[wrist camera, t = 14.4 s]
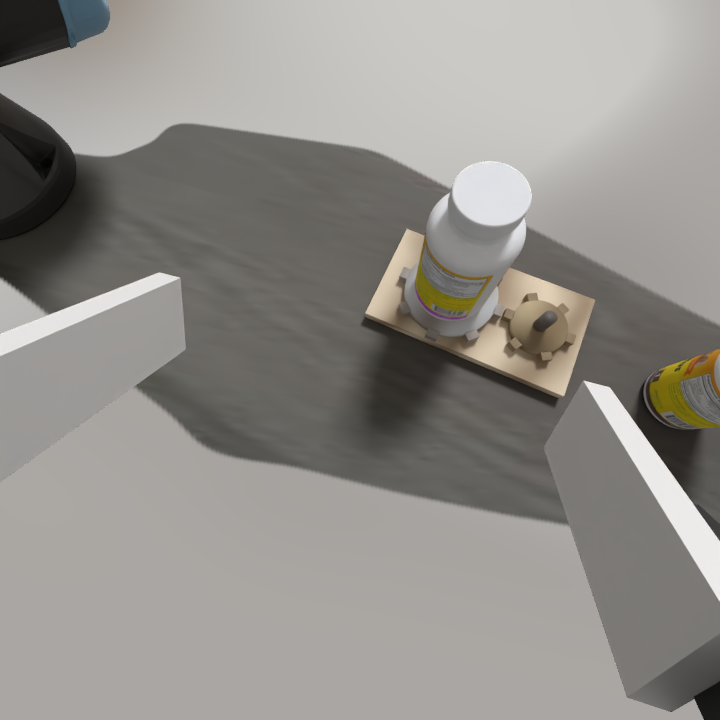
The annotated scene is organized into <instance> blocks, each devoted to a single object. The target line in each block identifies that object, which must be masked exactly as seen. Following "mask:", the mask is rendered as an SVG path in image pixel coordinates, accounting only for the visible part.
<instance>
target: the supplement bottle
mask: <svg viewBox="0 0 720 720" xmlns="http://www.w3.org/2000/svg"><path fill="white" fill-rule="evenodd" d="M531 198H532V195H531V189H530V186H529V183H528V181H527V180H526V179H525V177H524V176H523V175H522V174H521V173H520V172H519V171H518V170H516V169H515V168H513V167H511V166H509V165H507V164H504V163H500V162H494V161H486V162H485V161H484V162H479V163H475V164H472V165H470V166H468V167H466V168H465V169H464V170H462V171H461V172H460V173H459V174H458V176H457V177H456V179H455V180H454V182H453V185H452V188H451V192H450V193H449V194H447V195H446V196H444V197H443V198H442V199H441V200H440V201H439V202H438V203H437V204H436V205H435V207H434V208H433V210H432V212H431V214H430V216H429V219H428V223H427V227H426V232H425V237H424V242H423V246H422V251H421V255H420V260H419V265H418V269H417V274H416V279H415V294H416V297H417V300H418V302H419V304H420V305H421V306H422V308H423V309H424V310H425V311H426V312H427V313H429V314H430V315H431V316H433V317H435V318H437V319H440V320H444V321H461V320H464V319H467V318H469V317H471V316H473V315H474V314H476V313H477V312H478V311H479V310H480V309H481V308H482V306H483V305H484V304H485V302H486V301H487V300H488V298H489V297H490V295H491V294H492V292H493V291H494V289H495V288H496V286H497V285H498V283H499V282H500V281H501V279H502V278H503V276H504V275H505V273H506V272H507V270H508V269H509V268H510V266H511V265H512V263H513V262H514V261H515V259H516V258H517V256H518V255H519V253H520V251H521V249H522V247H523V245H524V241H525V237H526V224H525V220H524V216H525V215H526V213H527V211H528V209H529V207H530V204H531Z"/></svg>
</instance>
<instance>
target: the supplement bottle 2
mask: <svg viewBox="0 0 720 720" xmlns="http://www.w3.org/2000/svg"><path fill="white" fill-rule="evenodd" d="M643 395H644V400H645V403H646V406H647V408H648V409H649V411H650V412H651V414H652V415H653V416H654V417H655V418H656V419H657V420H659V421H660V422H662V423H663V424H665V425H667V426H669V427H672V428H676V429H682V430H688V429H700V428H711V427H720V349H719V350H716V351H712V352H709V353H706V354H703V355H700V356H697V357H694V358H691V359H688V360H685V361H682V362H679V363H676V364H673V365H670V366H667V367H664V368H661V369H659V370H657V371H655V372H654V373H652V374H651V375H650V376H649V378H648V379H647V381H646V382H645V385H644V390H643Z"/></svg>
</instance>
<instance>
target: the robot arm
mask: <svg viewBox="0 0 720 720" xmlns="http://www.w3.org/2000/svg"><path fill="white" fill-rule="evenodd" d="M109 20H110V11H109V6H108V3H107V0H0V67H3V66H6V65H10V64H13V63H16V62H20V61H23V60H27V59H30V58H33V57H36V56H40V55H44V54H47V53H50V52H54V51H57V50H61V49H64V48H67V47H70V48H73V47H76V45H77V43H78V42H80V41H82V40H85V39H87V38H90V37H92V36H95V35H98V34H100V33H102V32H103V31H104V30H105V29H106V28H107V27H108V24H109ZM75 174H76V162H75V157H74V154H73V152H72V150H71V148H70V147H69V145H68V144H67V143H66V142H65V141H64V140H63V139H62V138H61V136H60V135H59V134H58V133H57V132H56V131H55V130H54V129H53V128H52V127H51V126H50V125H48V124H47V123H46V122H44V121H43V120H42V119H40V118H39V117H37V116H36V115H34V114H32V113H31V112H29V111H28V110H26V109H24V108H23V107H21V106H20V105H18V104H16V103H15V102H13V101H12V100H10V99H8V98H7V97H5V96H4V95H2V94H1V93H0V239H3V238H8V237H12V236H15V235H18V234H21V233H24V232H26V231H28V230H30V229H32V228H34V227H36V226H37V225H39V224H40V223H42V222H43V221H45V220H46V219H47V218H48V217H50V216H51V215H52V214H53V213H54V212H55V211H56V210H57V209H58V208H59V207H60V206H61V204H62V203H63V202H64V200H65V199H66V197H67V196H68V194H69V192H70V190H71V188H72V186H73V183H74V179H75ZM184 350H186V344H185V331H184V318H183V306H182V293H181V280H180V278H179V277H175V276H171V275H167V274H163V273H157V274H154V275H152V276H149V277H146V278H144V279H141V280H139V281H136V282H133V283H131V284H128V285H126V286H123V287H120V288H118V289H115V290H113V291H110V292H107V293H105V294H102V295H100V296H97V297H94V298H92V299H89V300H87V301H84V302H81V303H79V304H76V305H73V306H71V307H68V308H66V309H63V310H60V311H58V312H55V313H53V314H50V315H47V316H45V317H42V318H40V319H37V320H35V321H32V322H29V323H27V324H24V325H21V326H19V327H16V328H14V329H11V330H8V331H6V332H3V333H1V334H0V482H1V481H3V480H4V479H5V478H7V477H8V476H10V475H11V474H12V473H14V472H15V471H16V470H18V469H19V468H21V467H22V466H24V465H25V464H26V463H28V462H29V461H31V460H32V459H33V458H35V457H36V456H38V455H39V454H40V453H42V452H43V451H45V450H46V449H47V448H49V447H50V446H51V445H53V444H54V443H56V442H57V441H58V440H60V439H61V438H63V437H64V436H65V435H66V434H68V433H70V432H71V431H72V430H74V429H75V428H77V427H78V426H79V425H81V424H82V423H84V422H85V421H86V420H88V419H89V418H91V417H92V416H93V415H95V414H96V413H98V412H99V411H100V410H102V409H103V408H105V407H106V406H107V405H109V404H110V403H112V402H113V401H114V400H116V399H117V398H118V397H120V396H121V395H123V394H124V393H126V392H127V391H128V390H130V389H131V388H133V387H134V386H135V385H137V384H138V383H140V382H141V381H142V380H144V379H145V378H146V377H148V376H149V375H151V374H152V373H153V372H155V371H156V370H158V369H159V368H160V367H162V366H163V365H165V364H166V363H167V362H169V361H170V360H172V359H173V358H174V357H176V356H177V355H179V354H180V353H181V352H183V351H184ZM544 450H545V453H546V456H547V459H548V462H549V465H550V468H551V471H552V474H553V477H554V480H555V483H556V486H557V489H558V492H559V495H560V498H561V501H562V504H563V507H564V510H565V513H566V516H567V519H568V522H569V525H570V528H571V531H572V534H573V537H574V540H575V543H576V546H577V549H578V552H579V555H580V558H581V561H582V564H583V567H584V570H585V573H586V576H587V579H588V582H589V585H590V588H591V591H592V594H593V596H594V600H595V603H596V606H597V609H598V612H599V615H600V618H601V621H602V624H603V627H604V630H605V633H606V636H607V639H608V642H609V645H610V647H611V651H612V654H613V657H614V660H615V663H616V666H617V669H618V672H619V674H620V678H621V680H622V684H623V686H624V690H625V692H626V696H627V697H628V698H631V699H634V700H637V701H640V702H643V703H646V704H649V705H652V706H655V707H658V708H661V709H664V710H667V711H670V712H672V711H674V710H676V709H677V708H679V707H681V706H683V705H684V704H686V703H688V702H690V701H691V700H693V699H695V701H696V703H697V705H698V708H699V710H700V712H701V714H702V716H703V719H704V720H720V524H719V523H718V522H717V521H716V520H715V519H713V518H712V517H711V516H710V515H709V514H708V513H707V512H706V511H705V510H704V509H703V508H701V507H700V506H699V505H695V504H693V503H692V502H691V500H690V499H689V498H688V496H687V495H686V493H685V492H684V491H683V489H682V488H681V486H680V485H679V484H678V482H677V481H676V479H675V478H674V477H673V475H672V474H671V472H670V471H669V470H668V468H667V467H666V465H665V464H664V463H663V461H662V460H661V458H660V457H659V456H658V454H657V453H656V451H655V450H654V449H653V447H652V446H651V444H650V443H649V442H648V440H647V439H646V437H645V436H644V435H643V433H642V432H641V430H640V429H639V428H638V426H637V425H636V424H635V422H634V421H633V419H632V418H631V417H630V415H629V414H628V412H627V411H626V410H625V408H624V407H623V405H622V404H621V403H620V401H619V400H618V398H617V397H616V396H615V394H614V393H613V391H612V390H611V389H610V387H606V386H602V385H598V384H594V383H590V382H586V381H583V382H582V384H581V385H580V387H579V389H578V390H577V392H576V394H575V395H574V397H573V399H572V401H571V402H570V404H569V406H568V407H567V409H566V411H565V412H564V414H563V416H562V417H561V419H560V421H559V422H558V424H557V426H556V427H555V429H554V431H553V433H552V434H551V436H550V438H549V439H548V441H547V443H546V444H545V446H544Z"/></svg>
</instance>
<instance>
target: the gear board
mask: <svg viewBox="0 0 720 720" xmlns="http://www.w3.org/2000/svg"><path fill="white" fill-rule="evenodd" d="M424 237H425V236H424V235H421V234H419V233H416V232H413V231H411V230H408V229H407V230H406V232H405V234H404V236H403V238H402V240H401V242H400V244H399V246H398V248H397V250H396V252H395V254H394V256H393V258H392V260H391V262H390V264H389V266H388V268H387V270H386V273H385V275H384V277H383V279H382V281H381V283H380V285H379V287H378V289H377V291H376V293H375V295H374V297H373V299H372V301H371V303H370V305H369V307H368V309H367V311H366V313H365V315H366V318H369V319H371V320H373V321H376V322H378V323H380V324H383V325H385V326H388V327H390V328H392V329H395V330H397V331H399V332H402V333H404V334H407V335H409V336H411V337H414V338H416V339H418V340H421V341H423V342H426V343H428V344H430V345H433V346H435V347H437V348H440V349H442V350H445V351H447V352H449V353H452V354H454V355H457V356H459V357H461V358H464V359H466V360H468V361H471V362H473V363H476V364H478V365H480V366H483V367H485V368H487V369H490V370H492V371H495V372H497V373H499V374H502V375H504V376H506V377H509V378H511V379H514V380H516V381H518V382H521V383H523V384H525V385H528V386H530V387H533V388H535V389H537V390H540V391H542V392H544V393H547V394H549V395H552V396H554V397H556V398H561V397H564V395H565V392H566V389H567V386H568V382H569V379H570V376H571V373H572V370H573V367H574V364H575V361H576V358H577V355H578V352H579V349H580V345H581V342H582V339H583V336H584V333H585V330H586V327H587V324H588V321H589V318H590V315H591V311H592V308H593V305H594V302H595V300H594V299H591V298H589V297H586V296H583V295H581V294H578V293H575V292H573V291H570V290H568V289H565V288H562V287H560V286H557V285H554V284H552V283H549V282H546V281H544V280H541V279H538V278H536V277H533V276H530V275H528V274H525V273H522V272H520V271H517V270H514V269H512V268H509V269H508V270H507V272H506V273H505V275H504V276H503V278H502V279H501V281H500V282H499V283H498V285H497V286H496V288H495V289H494V291H493V292H492V294H491V295H490V297H489V298H488V300H487V301H486V302H485V304H484V305H483V306H482V308H481V309H480V310H479V311H478V312H477V313H476V314H474V315H473V316H471V317H469V318H467V319H464V320H461V321H444V320H440V319H437V318H435V317H433V316H431V315H430V314H429V313H427V312H426V311H425V310H424V309H423V308H422V306H421V305H420V304H419V302H418V300H417V297H416V294H415V279H416V274H417V269H418V265H419V260H420V255H421V251H422V246H423V242H424Z"/></svg>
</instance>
